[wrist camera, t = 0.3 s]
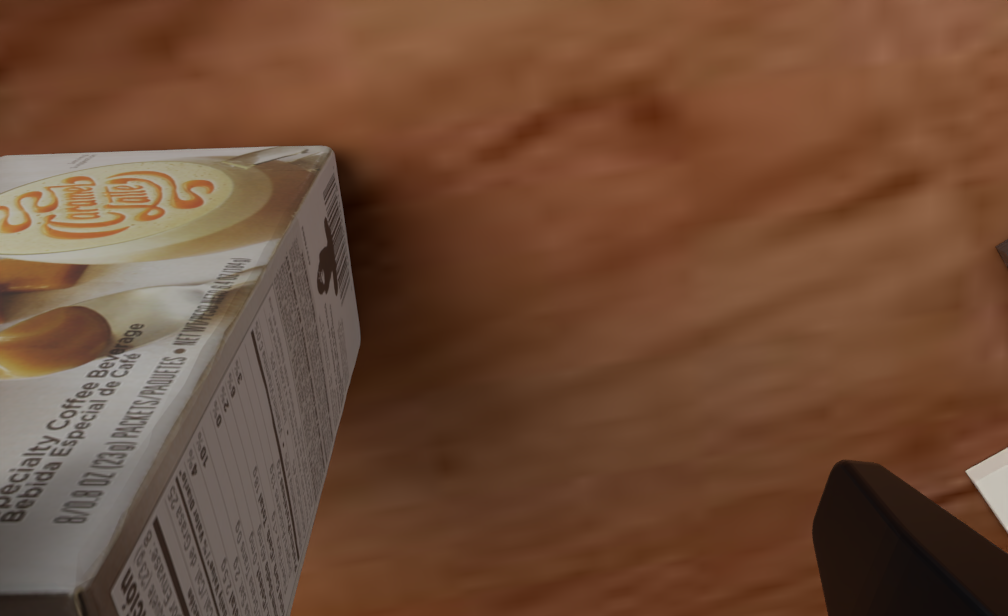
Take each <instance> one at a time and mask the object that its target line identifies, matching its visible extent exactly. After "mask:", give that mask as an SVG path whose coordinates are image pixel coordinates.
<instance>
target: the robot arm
mask: <svg viewBox="0 0 1008 616" xmlns="http://www.w3.org/2000/svg"><path fill="white" fill-rule="evenodd" d="M812 536H813V544H814V549H815V554H816V558H817V563H818V568H819V573H820V578H821V582H822V587H823V592H824V597H825V602H826V606H827V611H828V616H1008V554H1007V553H1006V552H1004V551H1003V550H1001V549H1000V548H998V547H997V546H996V545H994V544H993V543H991V542H990V541H988V540H987V539H986V538H984V537H983V536H981V535H980V534H978V533H977V532H976V531H974V530H973V529H971V528H970V527H968V526H967V525H966V524H964V523H963V522H961V521H960V520H959V519H957V518H956V517H954V516H953V515H951V514H950V513H949V512H947V511H946V510H944V509H943V508H941V507H940V506H939V505H937V504H936V503H934V502H933V501H931V500H930V499H929V498H927V497H926V496H924V495H923V494H921V493H920V492H919V491H917V490H916V489H914V488H913V487H911V486H910V485H909V484H907V483H906V482H904V481H903V480H901V479H900V478H899V477H897V476H896V475H894V474H893V473H891V472H890V471H889V470H887V469H886V468H884V467H883V466H881V465H880V464H877V463H873V462H862V461H852V460H841V461H839V462H837V463H836V464H835V465H834V467H833V468H832V470H831V472H830V475H829V478H828V480H827V483H826V486H825V489H824V492H823V494H822V497H821V500H820V503H819V506H818V508H817V511H816V514H815V517H814V521H813V529H812Z"/></svg>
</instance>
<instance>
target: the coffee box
mask: <svg viewBox="0 0 1008 616" xmlns="http://www.w3.org/2000/svg"><path fill="white" fill-rule="evenodd" d="M360 340H361V336H360V325H359V318H358V311H357V304H356V297H355V291H354V284H353V277H352V270H351V262H350V255H349V248H348V240H347V233H346V226H345V219H344V212H343V205H342V199H341V193H340V187H339V180H338V173H337V166H336V159H335V153H334V152H333V150H332V149H331V148H329V147H327V146H274V147H246V148H216V149H184V150H156V151H123V152H95V153H68V154H41V155H12V156H3V157H0V616H290V613H291V609H292V604H293V600H294V596H295V593H296V589H297V585H298V581H299V577H300V574H301V570H302V566H303V562H304V558H305V554H306V551H307V547H308V543H309V539H310V535H311V531H312V527H313V524H314V520H315V516H316V512H317V508H318V504H319V500H320V497H321V493H322V489H323V485H324V482H325V478H326V474H327V470H328V466H329V462H330V459H331V455H332V451H333V447H334V442H335V438H336V434H337V430H338V427H339V423H340V420H341V416H342V413H343V409H344V404H345V400H346V395H347V391H348V387H349V384H350V380H351V376H352V373H353V370H354V367H355V363H356V359H357V355H358V351H359V347H360Z"/></svg>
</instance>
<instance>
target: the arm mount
mask: <svg viewBox="0 0 1008 616" xmlns="http://www.w3.org/2000/svg"><path fill="white" fill-rule="evenodd" d="M996 249H997V251H998V252H999V254H1000V256H1001V257H1002V259H1003V261H1004V262H1005V264H1006V266H1007V267H1008V240H1006V241H1004V242H1003V243H1001V244H999V245H998V246H996Z"/></svg>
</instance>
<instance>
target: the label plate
mask: <svg viewBox="0 0 1008 616" xmlns="http://www.w3.org/2000/svg"><path fill="white" fill-rule="evenodd" d="M965 472H966V473H967V475H968V476H969V478H970V479H971V481H972V482H973V484H974V485H975V486H976V488H977V489H978V491H979V492H980V494H981V495H982V497H983V498H984V500H985V501H986V502H987V504H988V505H989V507H990V508H991V510H992V511H993V513H994V514H995V516H996V517H997V519H998V520H999V521H1000V523H1001V524H1002V526H1003V527H1004V529H1005V530H1006V532H1007V533H1008V448H1006V449H1004V450H1002V451H1001V452H999V453H997V454H995V455H993V456H992V457H990V458H988V459H986V460H984V461H982V462H981V463H979V464H977V465H975V466H973V467H971V468H970V469H968V470H966V471H965Z"/></svg>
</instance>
